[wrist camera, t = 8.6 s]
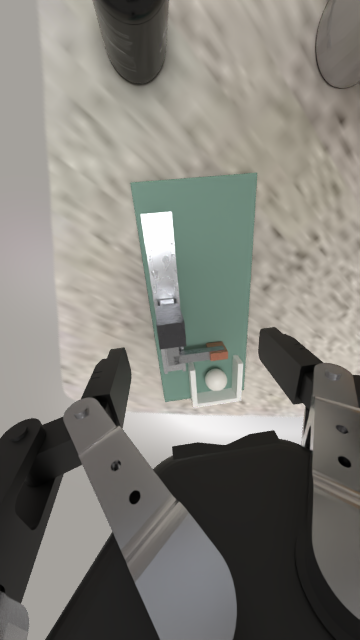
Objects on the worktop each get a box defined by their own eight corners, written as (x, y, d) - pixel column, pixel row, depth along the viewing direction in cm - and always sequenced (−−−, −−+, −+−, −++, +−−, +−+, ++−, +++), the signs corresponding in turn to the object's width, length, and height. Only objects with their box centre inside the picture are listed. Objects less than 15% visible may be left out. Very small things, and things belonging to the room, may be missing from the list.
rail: (171, 212, 30) (171, 211, 28) (185, 366, 41) (186, 371, 40) (141, 214, 29) (140, 214, 28) (163, 369, 41) (164, 374, 40)
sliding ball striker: (222, 291, 35) (245, 312, 26) (222, 349, 40) (241, 384, 31) (155, 298, 34) (156, 324, 25) (164, 357, 39) (166, 395, 30)
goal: (237, 354, 42) (243, 363, 39) (236, 390, 46) (241, 400, 43) (187, 361, 41) (190, 371, 38) (190, 397, 45) (193, 408, 42)
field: (255, 173, 29) (257, 172, 29) (242, 388, 46) (243, 390, 46) (130, 183, 28) (130, 182, 28) (165, 400, 45) (165, 401, 45)
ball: (222, 364, 43) (228, 371, 39) (224, 383, 44) (231, 393, 39) (202, 367, 43) (206, 374, 38) (204, 386, 43) (208, 396, 39)
